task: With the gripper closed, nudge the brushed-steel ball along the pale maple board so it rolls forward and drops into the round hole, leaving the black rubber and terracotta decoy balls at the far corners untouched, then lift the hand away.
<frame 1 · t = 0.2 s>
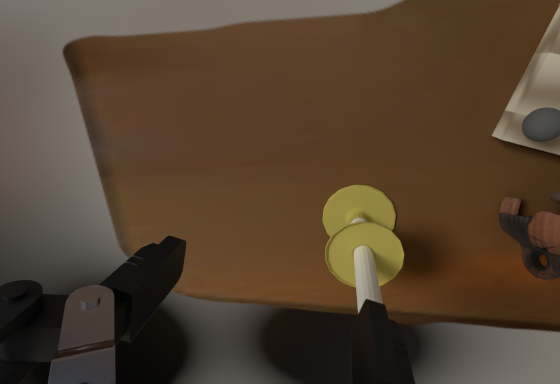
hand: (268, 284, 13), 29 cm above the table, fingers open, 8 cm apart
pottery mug: (537, 216, 38), on the table
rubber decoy: (543, 124, 30), point 4 cm above the table, touching board
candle: (358, 217, 42), on the table
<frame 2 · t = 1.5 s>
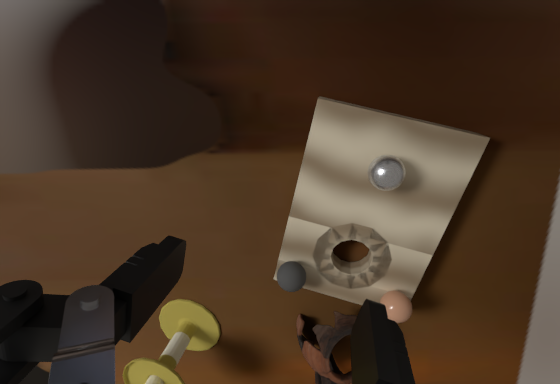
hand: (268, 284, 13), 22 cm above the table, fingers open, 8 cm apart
steel ball: (386, 172, 28), point 4 cm above the table, touching board
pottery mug: (331, 329, 42), on the table
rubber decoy: (291, 276, 34), point 4 cm above the table, touching board
board: (363, 210, 34), on the table
terracotta decoy: (395, 306, 33), point 4 cm above the table, touching board
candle: (190, 324, 47), on the table
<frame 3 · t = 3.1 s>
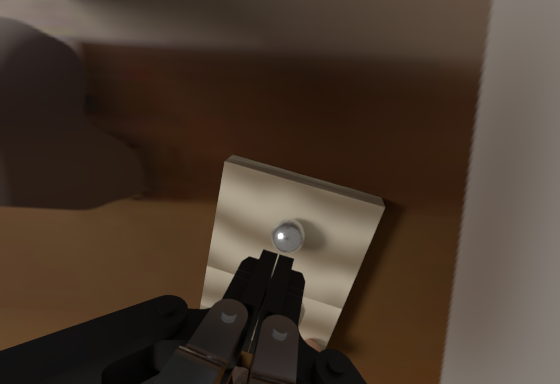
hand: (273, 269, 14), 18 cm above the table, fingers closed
steel ball: (288, 235, 29), point 4 cm above the table, touching board
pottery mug: (258, 365, 43), on the table
board: (281, 260, 35), on the table
terracotta decoy: (307, 355, 35), point 4 cm above the table, touching board
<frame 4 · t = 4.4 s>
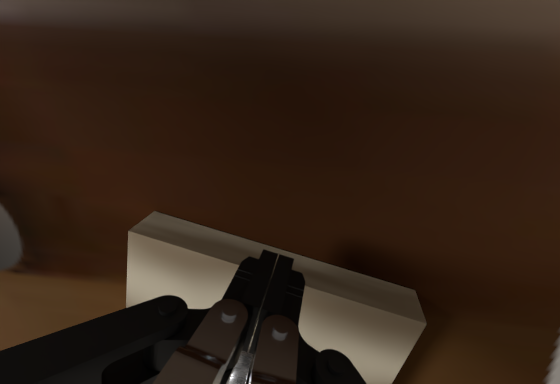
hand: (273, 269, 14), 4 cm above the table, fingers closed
steel ball: (244, 369, 16), point 4 cm above the table, touching board
board: (246, 371, 22), on the table
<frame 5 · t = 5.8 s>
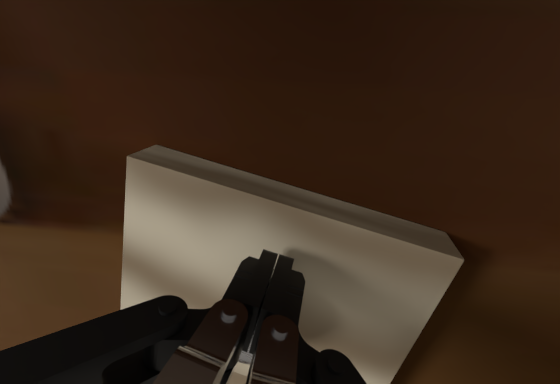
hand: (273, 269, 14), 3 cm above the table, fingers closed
board: (253, 332, 20), on the table
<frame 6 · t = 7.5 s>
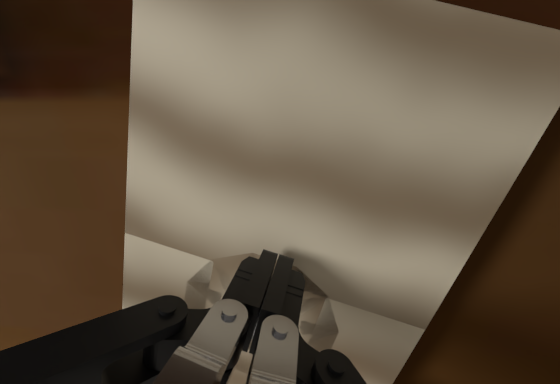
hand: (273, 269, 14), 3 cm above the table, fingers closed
board: (286, 223, 17), on the table
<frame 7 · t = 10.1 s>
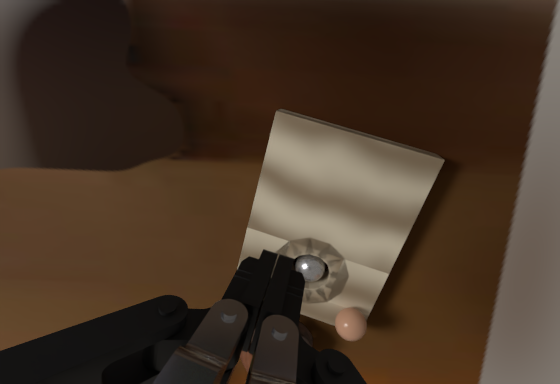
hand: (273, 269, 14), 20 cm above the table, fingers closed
steel ball: (310, 266, 34), point 2 cm above the table, tilted 15°
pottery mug: (275, 334, 41), on the table
board: (323, 224, 34), on the table
terracotta decoy: (350, 324, 33), point 4 cm above the table, touching board
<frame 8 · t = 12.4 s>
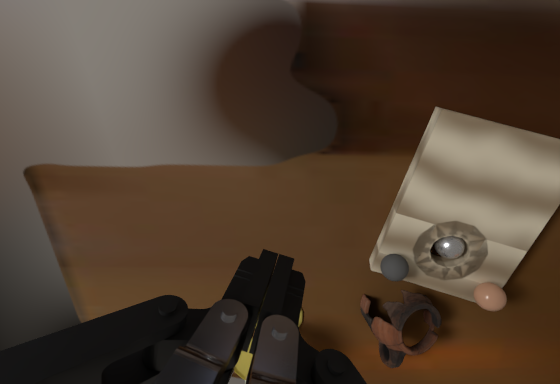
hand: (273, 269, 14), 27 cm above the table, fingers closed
steel ball: (449, 245, 38), point 2 cm above the table, tilted 6°
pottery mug: (392, 309, 46), on the table
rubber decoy: (394, 267, 38), point 4 cm above the table, touching board
board: (460, 209, 38), on the table
terracotta decoy: (489, 296, 37), point 4 cm above the table, touching board
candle: (273, 310, 50), on the table
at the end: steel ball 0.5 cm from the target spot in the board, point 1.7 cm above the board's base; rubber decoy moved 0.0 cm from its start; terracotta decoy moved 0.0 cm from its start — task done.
